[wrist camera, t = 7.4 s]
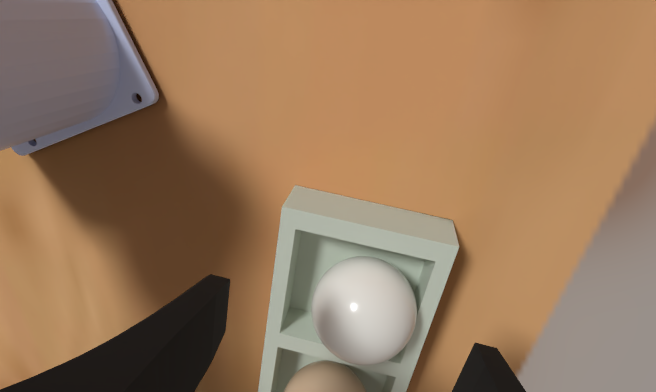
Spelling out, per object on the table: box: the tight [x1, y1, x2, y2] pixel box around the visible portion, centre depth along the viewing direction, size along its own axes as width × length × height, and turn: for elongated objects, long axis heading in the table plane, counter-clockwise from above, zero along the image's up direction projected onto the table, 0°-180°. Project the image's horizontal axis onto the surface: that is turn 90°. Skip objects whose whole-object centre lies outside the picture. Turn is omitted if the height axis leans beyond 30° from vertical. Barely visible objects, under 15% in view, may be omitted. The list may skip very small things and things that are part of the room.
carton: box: [258, 185, 459, 392], centre depth 22 cm, size 16×8×2 cm, turn 171°
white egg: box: [311, 256, 417, 365], centre depth 19 cm, size 5×5×5 cm
